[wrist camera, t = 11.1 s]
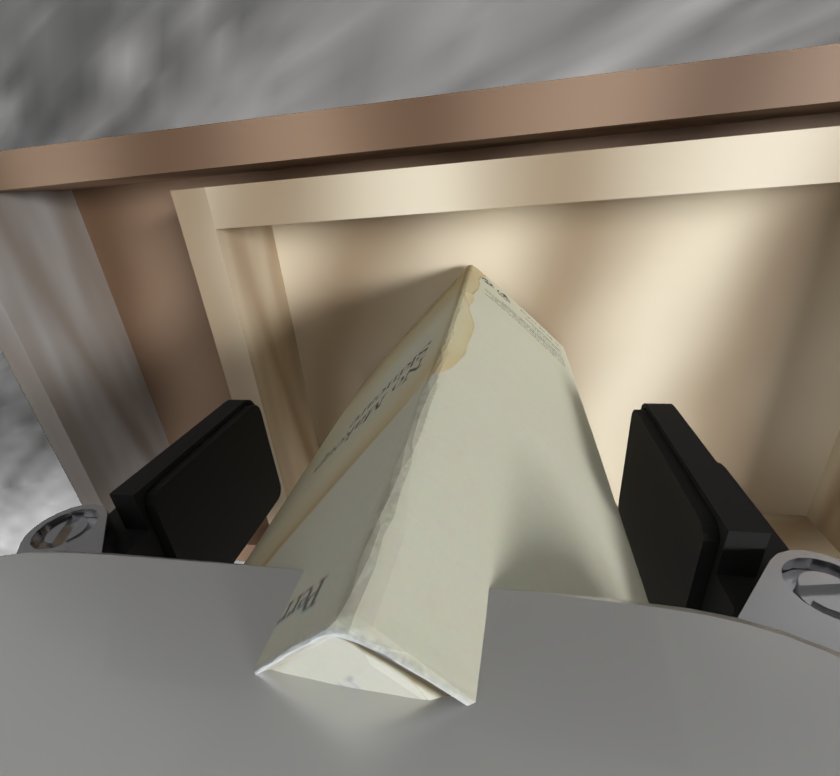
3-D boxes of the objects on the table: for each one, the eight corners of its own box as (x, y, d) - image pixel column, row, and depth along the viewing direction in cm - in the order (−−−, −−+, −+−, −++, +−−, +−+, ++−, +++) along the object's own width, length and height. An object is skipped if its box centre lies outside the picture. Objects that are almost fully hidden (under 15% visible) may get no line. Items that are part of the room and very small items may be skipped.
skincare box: (471, 258, 13) (335, 585, 3) (571, 351, 14) (793, 910, 3) (357, 388, 16) (59, 810, 5) (445, 460, 17) (340, 961, 6)
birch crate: (971, 120, 11) (1200, 91, 7) (812, 519, 16) (898, 613, 13) (251, 188, 15) (170, 190, 11) (319, 493, 20) (279, 560, 16)
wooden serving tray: (992, 54, 11) (1323, -32, 7) (804, 530, 18) (905, 646, 13) (62, 163, 16) (-100, 156, 12) (189, 494, 23) (115, 568, 19)
